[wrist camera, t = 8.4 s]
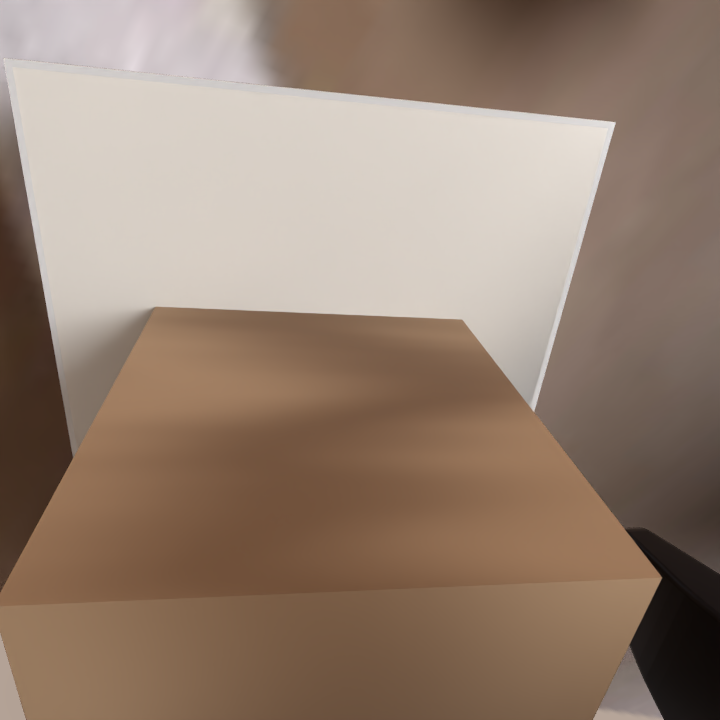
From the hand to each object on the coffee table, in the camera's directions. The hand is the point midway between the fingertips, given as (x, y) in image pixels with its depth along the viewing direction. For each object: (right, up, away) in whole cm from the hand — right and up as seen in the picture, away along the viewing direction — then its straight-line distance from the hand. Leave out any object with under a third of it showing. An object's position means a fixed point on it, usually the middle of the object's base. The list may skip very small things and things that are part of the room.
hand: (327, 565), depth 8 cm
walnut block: (-1, +1, +3) cm, 3 cm away
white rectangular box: (-1, +3, +7) cm, 7 cm away
